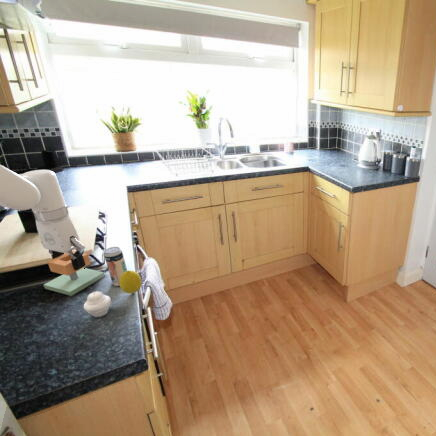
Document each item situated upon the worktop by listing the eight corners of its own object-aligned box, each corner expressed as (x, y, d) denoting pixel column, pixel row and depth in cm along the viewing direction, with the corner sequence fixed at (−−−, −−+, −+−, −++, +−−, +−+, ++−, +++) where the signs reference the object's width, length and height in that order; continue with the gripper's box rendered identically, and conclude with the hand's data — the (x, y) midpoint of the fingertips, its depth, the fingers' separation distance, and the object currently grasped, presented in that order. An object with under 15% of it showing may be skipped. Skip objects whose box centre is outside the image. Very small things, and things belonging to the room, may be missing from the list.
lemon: (147, 292, 98) (141, 269, 94) (128, 301, 93) (122, 278, 90) (138, 285, 100) (132, 263, 97) (119, 294, 96) (112, 272, 93)
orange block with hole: (68, 275, 95) (64, 265, 94) (50, 271, 97) (47, 261, 96) (91, 263, 101) (88, 254, 100) (74, 259, 103) (71, 250, 102)
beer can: (111, 281, 102) (101, 249, 97) (128, 276, 105) (119, 244, 100) (114, 289, 99) (104, 255, 94) (131, 283, 101) (122, 250, 97)
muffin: (84, 313, 88) (76, 293, 85) (109, 303, 92) (103, 283, 90) (91, 324, 84) (84, 303, 82) (117, 312, 89) (111, 292, 86)
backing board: (71, 296, 95) (66, 283, 93) (44, 288, 98) (39, 276, 96) (105, 276, 105) (101, 264, 103) (79, 270, 107) (76, 258, 106)
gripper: (15, 214, 91) (37, 266, 98) (60, 222, 86) (79, 277, 93) (44, 204, 97) (62, 254, 104) (87, 212, 93) (103, 264, 100)
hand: (70, 265), depth 99 cm, fingers closed on orange block with hole, 7 cm apart
